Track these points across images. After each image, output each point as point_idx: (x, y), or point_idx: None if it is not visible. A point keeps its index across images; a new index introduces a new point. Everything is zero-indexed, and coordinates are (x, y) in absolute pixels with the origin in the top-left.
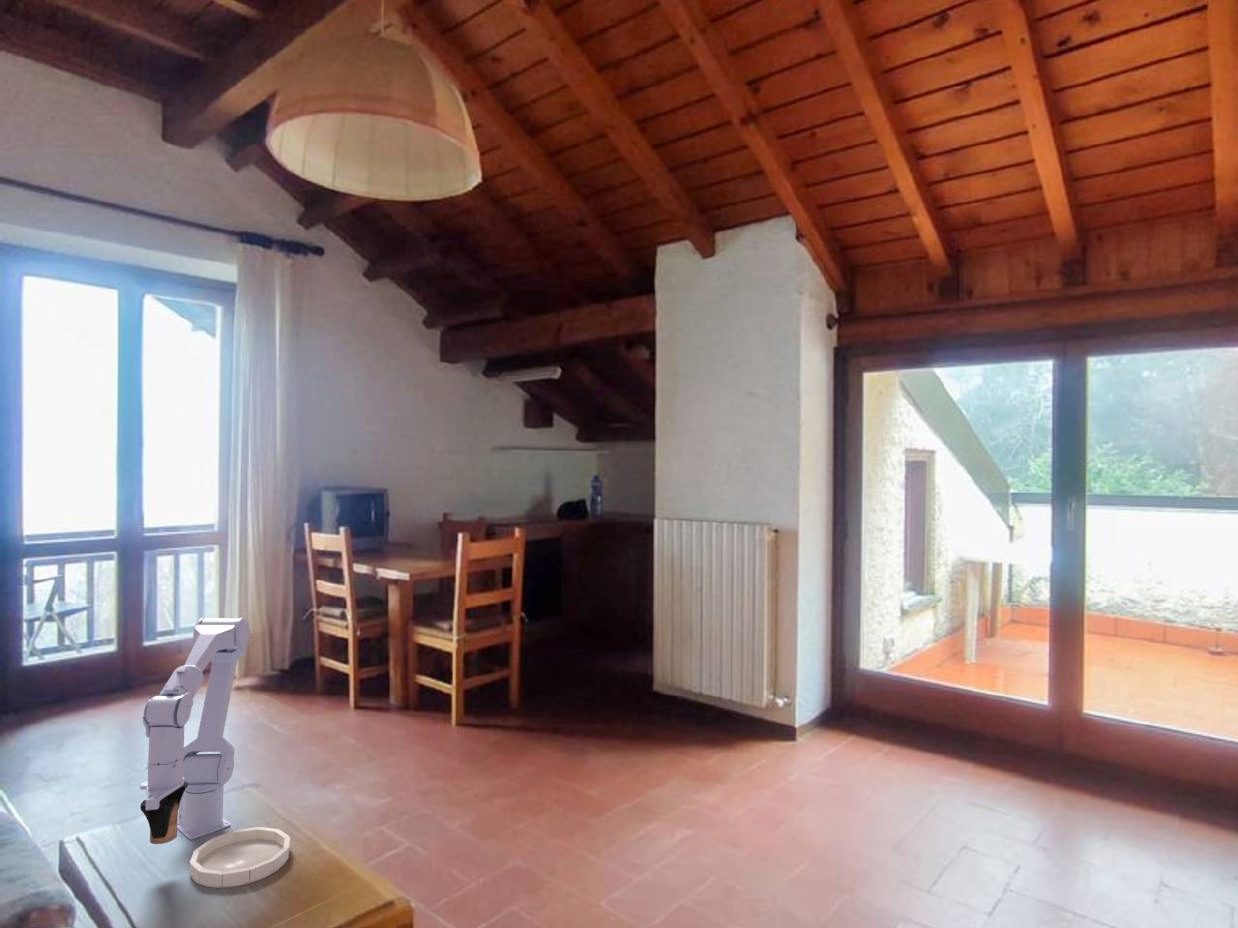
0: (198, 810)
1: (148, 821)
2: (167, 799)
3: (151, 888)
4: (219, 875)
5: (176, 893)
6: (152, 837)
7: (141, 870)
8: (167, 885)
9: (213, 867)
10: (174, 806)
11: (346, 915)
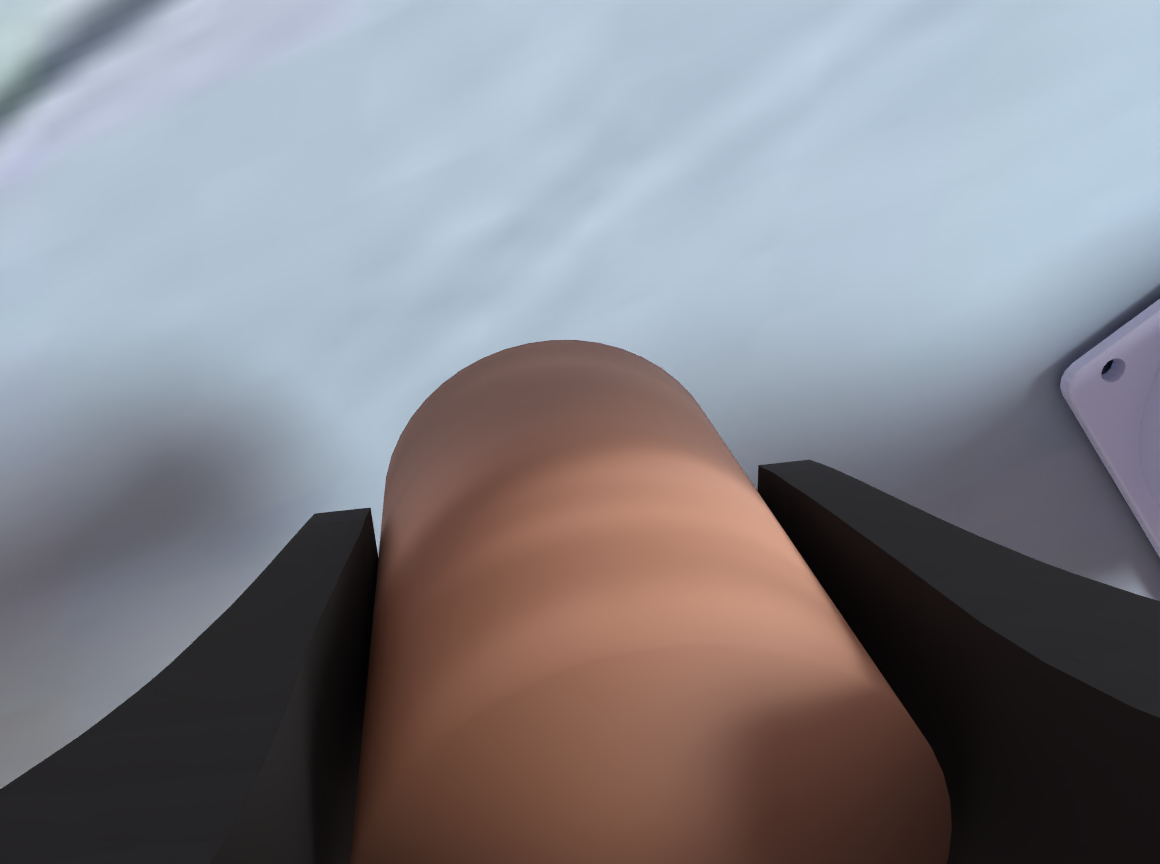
0: None
1: (135, 698)
2: (989, 860)
3: (216, 362)
4: None
5: (128, 599)
6: (410, 457)
7: (578, 119)
8: (264, 479)
9: None
10: None
11: None
